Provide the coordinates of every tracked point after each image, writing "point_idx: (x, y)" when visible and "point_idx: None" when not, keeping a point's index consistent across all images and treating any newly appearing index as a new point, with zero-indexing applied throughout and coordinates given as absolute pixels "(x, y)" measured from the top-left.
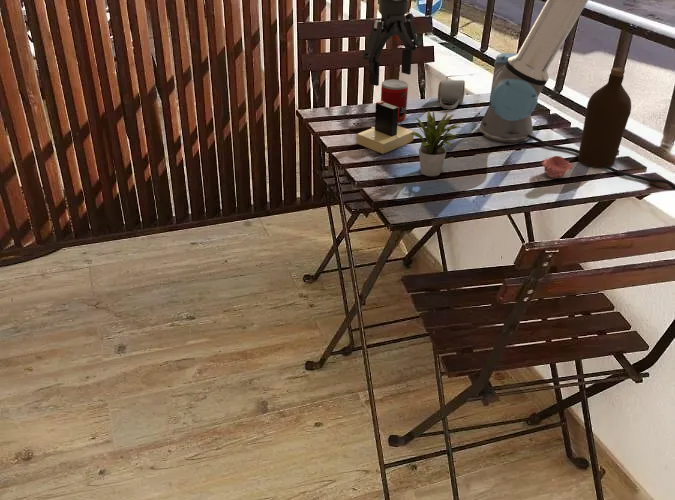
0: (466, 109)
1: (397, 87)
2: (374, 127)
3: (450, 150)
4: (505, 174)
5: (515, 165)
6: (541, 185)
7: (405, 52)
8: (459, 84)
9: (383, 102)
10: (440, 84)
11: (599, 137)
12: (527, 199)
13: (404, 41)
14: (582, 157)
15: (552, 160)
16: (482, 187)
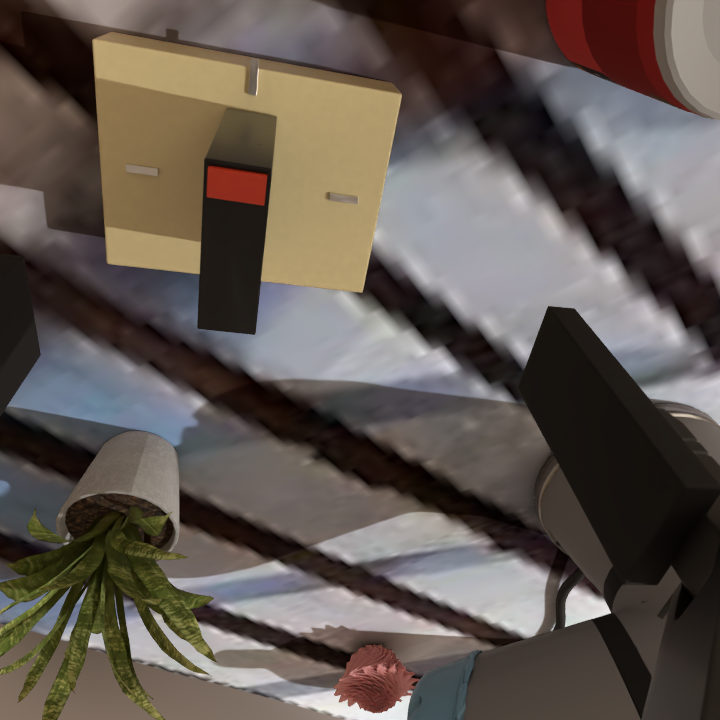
0: None
1: (676, 79)
2: (265, 76)
3: (365, 421)
4: (302, 588)
5: (380, 582)
6: (302, 651)
7: (641, 500)
8: None
9: (258, 203)
10: None
11: None
12: (203, 660)
13: (673, 682)
14: None
15: (365, 696)
16: (176, 587)
